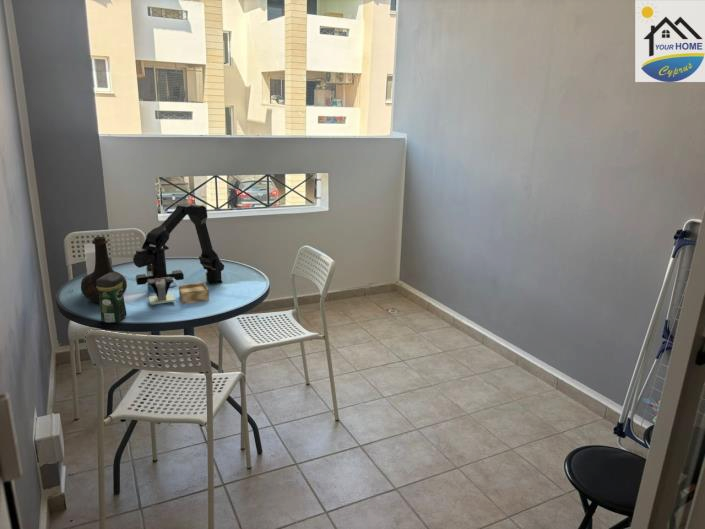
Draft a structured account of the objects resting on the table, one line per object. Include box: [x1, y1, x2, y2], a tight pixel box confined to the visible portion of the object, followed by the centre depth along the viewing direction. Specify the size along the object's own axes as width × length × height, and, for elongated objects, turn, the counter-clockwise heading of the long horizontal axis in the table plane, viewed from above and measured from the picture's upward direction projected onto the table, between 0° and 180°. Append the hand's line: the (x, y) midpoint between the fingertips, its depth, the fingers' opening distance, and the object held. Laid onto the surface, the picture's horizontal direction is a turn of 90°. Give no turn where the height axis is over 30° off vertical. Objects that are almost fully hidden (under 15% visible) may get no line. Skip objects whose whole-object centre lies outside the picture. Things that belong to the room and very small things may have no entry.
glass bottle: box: [80, 236, 128, 304], centre depth 220 cm, size 18×18×28 cm
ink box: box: [145, 264, 165, 293], centre depth 237 cm, size 9×5×12 cm, turn 168°
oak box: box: [178, 282, 210, 305], centre depth 227 cm, size 11×10×5 cm
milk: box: [83, 243, 95, 275], centre depth 231 cm, size 6×6×22 cm
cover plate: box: [148, 284, 176, 306], centre depth 221 cm, size 10×8×6 cm
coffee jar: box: [96, 272, 128, 324], centre depth 202 cm, size 10×8×19 cm
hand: (161, 296), depth 221 cm, fingers closed on cover plate, 3 cm apart
